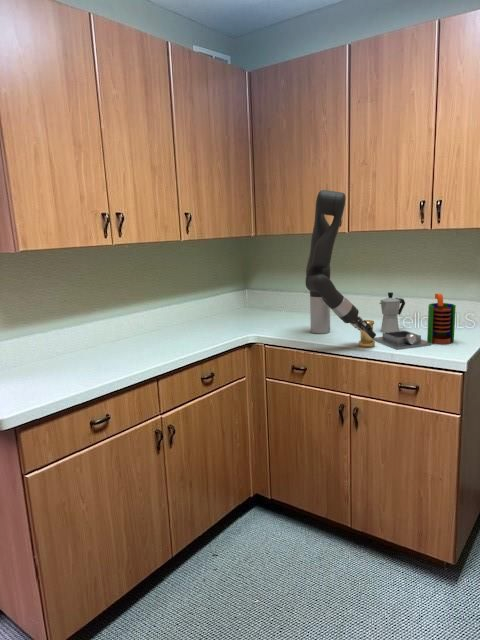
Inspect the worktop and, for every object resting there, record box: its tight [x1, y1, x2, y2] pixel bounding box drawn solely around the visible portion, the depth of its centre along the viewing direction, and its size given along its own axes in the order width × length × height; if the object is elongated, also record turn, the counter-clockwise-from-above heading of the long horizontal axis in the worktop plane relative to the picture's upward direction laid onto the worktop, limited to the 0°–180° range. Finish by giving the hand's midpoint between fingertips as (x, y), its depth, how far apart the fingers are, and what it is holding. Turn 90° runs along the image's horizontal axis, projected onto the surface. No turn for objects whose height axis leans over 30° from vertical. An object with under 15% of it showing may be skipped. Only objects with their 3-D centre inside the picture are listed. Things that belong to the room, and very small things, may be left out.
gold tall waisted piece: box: [358, 319, 376, 348], centre depth 200 cm, size 6×6×10 cm
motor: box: [426, 292, 457, 346], centre depth 199 cm, size 10×9×20 cm
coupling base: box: [373, 330, 433, 351], centre depth 203 cm, size 18×16×5 cm
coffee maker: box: [379, 291, 406, 333], centre depth 224 cm, size 15×9×18 cm, turn 115°
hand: (370, 335), depth 201 cm, fingers closed on gold tall waisted piece, 5 cm apart
